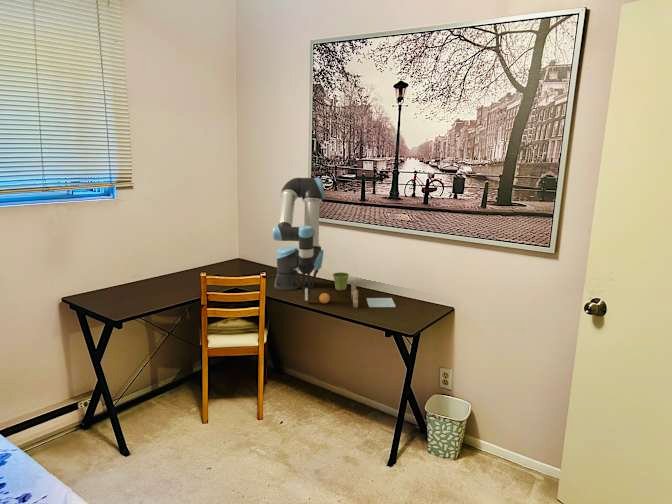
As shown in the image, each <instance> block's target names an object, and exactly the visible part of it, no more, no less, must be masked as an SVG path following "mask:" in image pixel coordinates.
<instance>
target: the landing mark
mask: <svg viewBox="0 0 672 504" xmlns="http://www.w3.org/2000/svg"><path fill="white" fill-rule="evenodd" d="M365 298H366V299H365V300H366V303H367V306H368V308H396V304H395V302H394V300H393V298H392V297H365Z"/></svg>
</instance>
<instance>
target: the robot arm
mask: <svg viewBox="0 0 672 504" xmlns="http://www.w3.org/2000/svg"><path fill="white" fill-rule="evenodd" d="M324 189H325V188H324V181H323V179H322V178H320V177H294V178H291V179H290V180H288V181H287V182H286V183H285V184H284V186H283V187H282V189H281V192H280V199H281V202H280V209H279V215H278V221H277V226H273V228H272V238H273V240H274V241H276V242H277V241H279V242H298V248H297V246H290V245H289V246H285V247H281V248H279V249H277V251H276V273H277V274H276V277H275V280H274V284H273V285H274V286H273V287H274V289H277V290H278V291H294V290H298V289H299V288H302V294H303V295H304V301H308V300H309V299H308V298H309V295H310V294H311V288H313V287H314V284H315V281H316V277H317V274H318V273H319V271H320V270H321V268H322V265H323V260H324V259H323V258H324V250H323V249H322V246H321V245H320V243H319V242H320V238H319V237H320V204H321V203H322V201H323V199H324V198H325V190H324ZM298 198H301V201H302V202H303V203H304V216H303V217H304V220H303V224H304V225H302V226H293V219H294V214H295V213H294V212H295V211H294V210H295V204H296V203H295V202H296V201H297V199H298ZM299 271H300V273H301V274H302V281H301V277H300V274H299ZM312 272H313V275H312V280H311V273H312ZM306 275H307V286H306Z"/></svg>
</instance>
